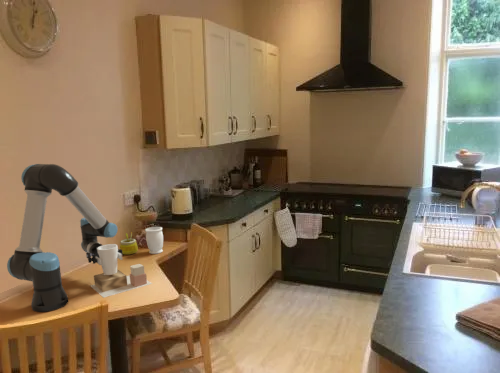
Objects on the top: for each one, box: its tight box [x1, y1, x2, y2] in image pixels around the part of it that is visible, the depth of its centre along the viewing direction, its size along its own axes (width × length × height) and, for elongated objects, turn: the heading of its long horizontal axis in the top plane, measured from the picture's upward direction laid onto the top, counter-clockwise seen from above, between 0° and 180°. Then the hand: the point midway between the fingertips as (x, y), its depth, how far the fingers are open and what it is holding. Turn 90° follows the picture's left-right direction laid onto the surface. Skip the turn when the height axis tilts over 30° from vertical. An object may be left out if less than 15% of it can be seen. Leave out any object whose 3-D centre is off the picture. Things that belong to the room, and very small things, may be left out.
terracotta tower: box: [129, 263, 148, 287], centre depth 213 cm, size 6×6×9 cm
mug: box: [119, 231, 139, 256], centre depth 272 cm, size 13×11×12 cm
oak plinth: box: [93, 269, 127, 292], centre depth 213 cm, size 12×12×5 cm
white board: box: [90, 274, 153, 299], centre depth 214 cm, size 24×20×2 cm
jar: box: [144, 226, 164, 255], centre depth 269 cm, size 11×10×15 cm
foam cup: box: [97, 243, 119, 275], centre depth 211 cm, size 10×9×13 cm
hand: (111, 259), depth 208 cm, fingers closed on foam cup, 9 cm apart
